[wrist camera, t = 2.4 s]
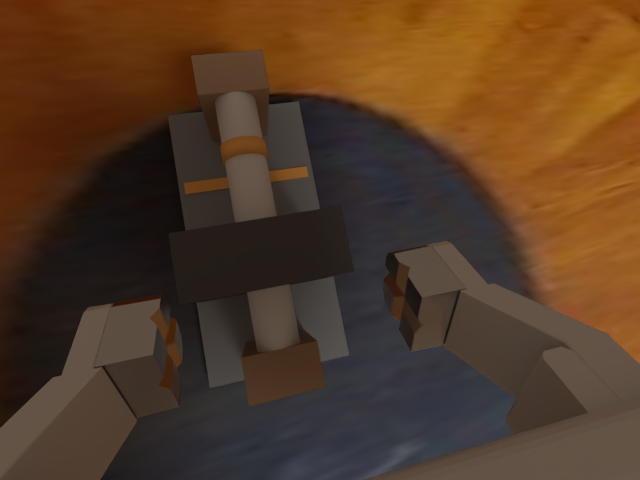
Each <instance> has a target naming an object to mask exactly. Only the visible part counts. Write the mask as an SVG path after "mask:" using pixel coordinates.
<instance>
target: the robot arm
mask: <svg viewBox="0 0 640 480" xmlns="http://www.w3.org/2000/svg"><path fill="white" fill-rule="evenodd" d="M385 266H386V267H387V269H388V271H389V273H388V275H387V276H386V277H385V278H384V285H383V291H384V297H385V301H386V304H387V307H388V309H389V311H390V313H391V315H392V316H394V317H395V318H397V319H399V320H400V327H399V330H400V332H401V334H402V336H403V338H404V339H405V341H406V343H407V345H408V347H409V349H410V351H416V350H421V349H426V348H430V347H435V346H440V345H445V346H444V347H446V348H447V349H449V350H450V351H451V352H453V353H454V354H456V355H457V356H458V357H460V358H461V359H462V360H464V361H465V362H467V363H468V364H469V365H471V366H472V367H473V368H475V369H476V370H478V371H479V372H480V373H482V374H483V375H484V376H486V377H487V378H489V379H490V380H491V381H493V382H494V383H496V384H497V385H498V386H500V387H501V388H502V389H504V390H505V391H507V392H508V393H509V394H511V395H512V396H513V397H515V398H516V401H515V403H514V404H513V406H512V408H511V410H510V411H509V413H508V415H507V419H506V422H507V424H508V425H509V427H510V428H511V430H512V432H513V433H514V435H511V436H508V437H504V438H501V439H498V440H494V441H491V442H488V443H484V444H481V445H478V446H474V447H471V448H468V449H464V450H461V451H458V452H454V453H451V454H447V455H444V456H441V457H437V458H434V459H431V460H427V461H424V462H421V463H417V464H414V465H411V466H407V467H404V468H400V469H397V470H394V471H390V472H387V473H384V474H380V475H377V476H374V477H370V478H367V479H364V480H640V364H639V363H638V362H637V361H636V360H634V359H633V358H632V357H631V356H630V355H629V354H628V353H627V352H626V351H625V350H624V349H623V348H622V347H620V346H619V345H618V344H617V343H616V342H615V341H614V340H613V339H612V338H611V337H610V336H609V335H608V334H606V333H604V332H602V331H600V330H597V329H595V328H593V327H591V326H588V325H586V324H584V323H582V322H579V321H577V320H575V319H573V318H570V317H568V316H566V315H564V314H561V313H559V312H557V311H555V310H552V309H550V308H548V307H546V306H543V305H541V304H539V303H536V302H534V301H532V300H530V299H527V298H525V297H523V296H521V295H518V294H516V293H514V292H512V291H509V290H507V289H505V288H503V287H500V286H498V285H496V284H489V285H488V284H487V283H486V282H485V281H484V280H483V279H482V277H481V276H480V275H479V274H478V273H477V272H476V271H475V270H474V268H473V267H472V266H471V265H470V264H469V263H468V262H467V260H466V259H465V258H464V257H463V256H462V255H461V254H460V253H459V251H458V250H457V249H456V248H455V247H454V246H453V245H452V244H451V243H450V242H447V241H445V242H440V243H435V244H430V245H427V246H421V247H416V248H411V249H405V250H400V251H395V252H390V253H388V255H387V257H386V265H385ZM170 311H171V306H170V303H169V301H168V299H167V297H166V296H165V295H158V296H152V297H146V298H140V299H134V300H128V301H121V302H115V303H113V304H106V305H100V306H94V307H89V308H88V309H87V310H86V311H85V312H84V313H83V315H82V318H81V321H80V324H79V326H78V329H77V332H76V335H75V338H74V341H73V344H72V346H71V349H70V352H69V355H68V358H67V361H66V364H65V366H64V369H63V372H62V375H61V376H57V377H53V378H52V379H51V380H50V381H49V382H48V383H46V384H45V385H44V386H43V387H42V388H41V389H40V390H39V391H38V392H37V393H36V394H35V395H34V396H33V397H32V398H31V399H30V400H29V401H28V402H27V403H26V404H25V405H24V406H23V407H22V408H21V409H19V410H18V411H17V412H16V413H15V414H14V415H13V416H12V417H11V418H10V419H9V420H8V421H7V422H6V423H5V424H4V425H3V426H2V427H1V428H0V480H100V479H101V478H102V476H103V474H104V473H105V471H106V470H107V468H108V466H109V465H110V463H111V462H112V460H113V459H114V457H115V455H116V454H117V452H118V451H119V449H120V447H121V446H122V444H123V443H124V441H125V439H126V438H127V436H128V435H129V433H130V432H131V430H132V428H133V427H134V425H135V424H136V422H137V419H136V418H140V417H144V416H147V415H151V414H155V413H159V412H162V411H166V410H170V409H174V408H177V407H179V406H180V390H181V377H180V375H179V373H178V370H177V367H178V366H179V365H180V363H181V362H182V354H183V348H182V337H181V333H180V329H179V326H178V323H177V321H176V320H175V319H173V318H171V317H170Z"/></svg>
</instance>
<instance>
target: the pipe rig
mask: <svg viewBox="0 0 640 480" xmlns="http://www.w3.org/2000/svg"><path fill="white" fill-rule="evenodd" d="M191 59H192V65H193V71H194V77H195V84H196V90H197V95H198V98H199V102H200V105H201V108H202V111H203V112H195V113H185V114H176V115H168V121H169V127H170V134H171V140H172V147H173V153H174V160H175V166H176V172H177V179H178V185H179V192H180V198H181V205H182V211H183V218H184V224H185V231H186V230H192V229H198V228H204V227H211V226H217V225H223V224H229V223H236V222H242V221H248V220H254V219H261V218H267V217H273V216H279V215H286V214H292V213H298V212H304V211H311V210H317V209H320V207H319V202H318V197H317V192H316V187H315V181H314V176H313V171H312V166H311V161H310V156H309V151H308V146H307V141H306V136H305V131H304V126H303V121H302V116H301V111H300V106H299V102H289V103H280V104H270V105H269V85H268V79H267V74H266V69H265V64H264V58H263V53H262V50H253V51H241V52H228V53H215V54H203V55H191ZM197 308H198V315H199V321H200V328H201V334H202V341H203V347H204V354H205V360H206V367H207V373H208V380H209V386H210V388H213V387H217V386H221V385H225V384H230V383H234V382H238V381H242V380H245V386H246V392H247V398H248V404H249V406H253V405H257V404H261V403H265V402H269V401H273V400H277V399H281V398H285V397H289V396H293V395H297V394H301V393H305V392H309V391H313V390H317V389H321V388H325V387H326V384H325V379H324V374H323V369H322V363H321V362H323V361H327V360H331V359H335V358H339V357H344V356H348V355H349V352H348V347H347V342H346V337H345V332H344V327H343V322H342V317H341V312H340V307H339V302H338V297H337V292H336V287H335V282H334V277H333V276H332V277H328V278H324V279H319V280H314V281H309V282H304V283H299V284H293V285H290V284H288V285H282V286H277V287H272V288H267V289H262V290H257V291H252V292H247V294H242V295H237V296H232V297H227V298H222V299H217V300H212V301H206V302H198V303H197Z"/></svg>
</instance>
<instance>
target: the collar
mask: <svg viewBox="0 0 640 480" xmlns="http://www.w3.org/2000/svg"><path fill="white" fill-rule="evenodd" d="M168 237H169V244H170V251H171V257H172V264H173V271H174V278H175V284H176V291H177V298H178V305H182V304H190V303H198V302H206V301H212V300H217V299H222V298H227V297H232V296H237V295H242V294H247V292H252V291H257V290H262V289H267V288H272V287H277V286H282V285H288V284H290V285H293V284H299V283H304V282H309V281H314V280H319V279H324V278H328V277H332V276H336V275H340V274H344V273H348V272H351V271H354V269H353V264H352V259H351V254H350V249H349V245H348V240H347V235H346V230H345V225H344V220H343V215H342V211H341V206H335V207H329V208H323V209H317V210H311V211H304V212H298V213H292V214H286V215H279V216H273V217H267V218H261V219H254V220H248V221H242V222H236V223H229V224H223V225H217V226H211V227H204V228H198V229H192V230H186V231H180V232H173V233H168Z"/></svg>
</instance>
